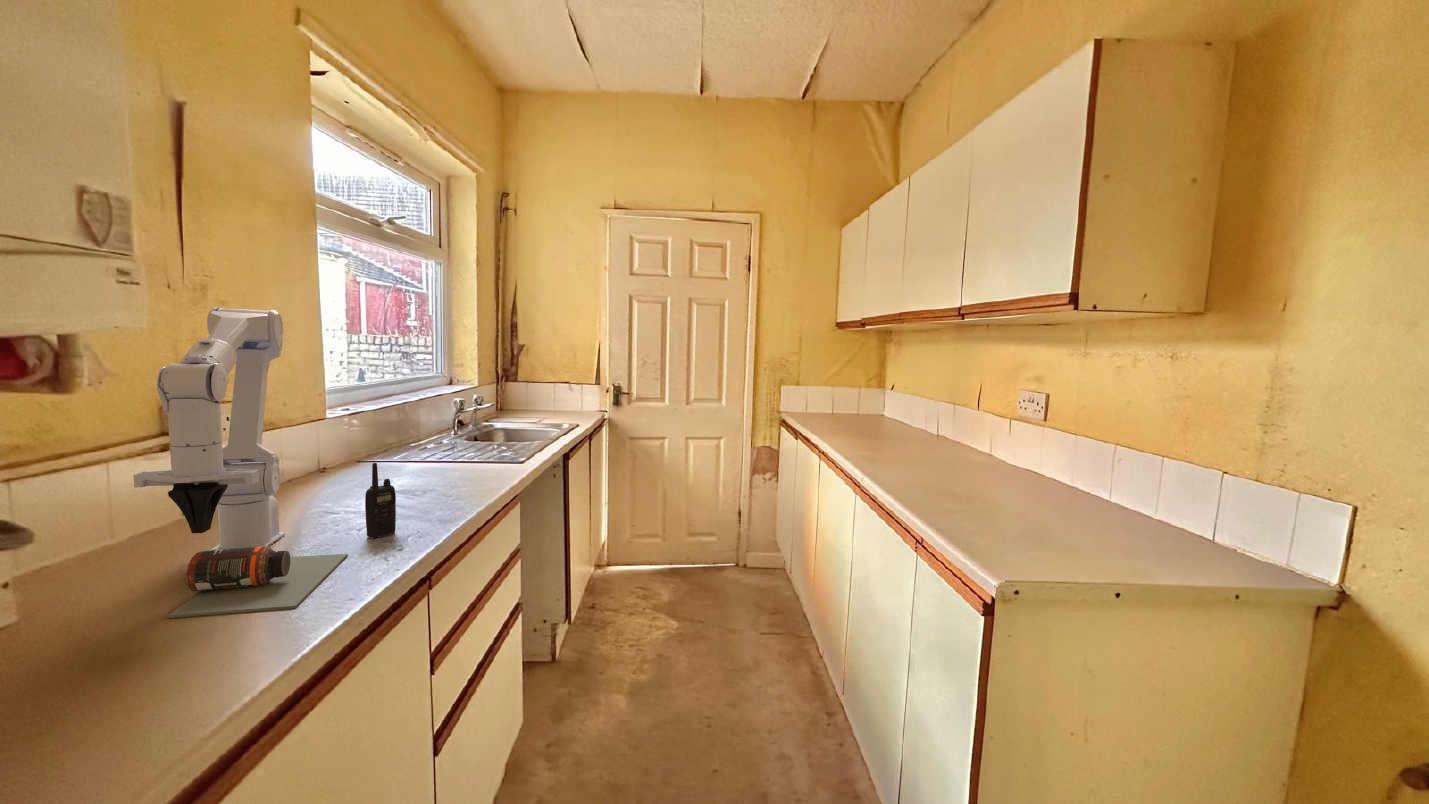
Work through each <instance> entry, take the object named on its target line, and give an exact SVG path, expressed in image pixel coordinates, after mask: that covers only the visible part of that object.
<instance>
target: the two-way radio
mask: <svg viewBox="0 0 1429 804" xmlns="http://www.w3.org/2000/svg"><path fill="white" fill-rule="evenodd" d="M371 464H372V465H371V466H372V467H371V472H372V473H371V486H370V487H369V488H368V489H367V490H366V491H365V497H364V498H365V500H364V505H365V507H364V509H365V510H364V511H365V524H366V525H365V527H366V537H367V538H370V539H377V538H381V537H385V536H389V535H393V534H395V533H396V528H397V527H396V524H397V523H396V522H397V521H396V519H397V513H396V511H397V510H396V509H397V508H396V507H397V505H396V503H397V499H396V498H397V497H396V496H397V495H396V494H397V493H396V489H395V487H394V485H392V484H391V480H390V478H385V479H383V483H382V485H379V474H378V471H379V470H378V463H376V462H372V463H371Z"/></svg>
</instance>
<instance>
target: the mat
mask: <svg viewBox="0 0 1429 804" xmlns="http://www.w3.org/2000/svg"><path fill="white" fill-rule="evenodd" d="M348 554H349V553H341V554H339V553H337V554H336V553H335V554H319V555H318V554H317V555H305V556H304V555H299V556H290V568H289V572H288V574H287V575H286V576H284V577H278V578H276V577H274V578H272V579H270V581H269V582H268V583H266V584H264V585H259V586H250V587H241V588H230V589H221V590H211V591H202V592H201V591H200V592H198V594H196V595H194V596H193V597H192V598H190V599H188V600H187V601H186V602H185V603H183V604H182V605H181V606H179V607H177V608H176V609H174V610H173V611H171V613H169V614H167V619H172V618H173V619H174V618H185V617H188V618H189V617H200V616H213V615H224V614H226V615H227V614H239V613H240V614H241V613H252V612H264V611H265V612H266V611H279V610H291V609H293V610H294V609H296V608H298V606H299V605H301V604H302V603H303V602H304V600H306V598H307V597H309V596H310V594H312V593H313V592H314V591H315V590H316V588H317V587H318V586H319V585H321V584H322V583H323V581H325V580H326V578H327V577H328V576H329V575H330V574H331V573H332V572H334V571H335V569H336V568H338V567H339V565H340V564H341V563H342V562H344V561H345V560H346V559H347V557H348V556H349V555H348Z"/></svg>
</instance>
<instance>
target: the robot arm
mask: <svg viewBox="0 0 1429 804" xmlns="http://www.w3.org/2000/svg"><path fill="white" fill-rule="evenodd" d="M206 318H207V319H206V326H207V328H206V329H207V331H208V334H209V336H208V338H204V337H203V338H200V340H197V341H196V342H194V343H193V345H191V347H190V348H189V349H188V350H187V352H186V353H185V354H184V355H183V356H182V357H181V359H180V360H179V361H178V362H177V363H170V364H168V365H167V366H163V367H161V369H160V370H159V371H158V374H157V381H156V389H157V393H158V396H159V398H160V400H161V403H162V411H163V414H164V415H167V419H168V420H167V421H168V422H167V423H168V437H169V455H170V470H169V469H168V470H157V471H154V470H153V471H152V470H151V471H141V472H138V473H135V474H133V485H134V486H133V488H145V487H165V486H166V487H167V486H168V487H169V486H172V489H171V490H168V492H167V495H168V498H169V499H171V500H172V501H173V502H174V503H175V505H176V506H177V507H178V508H179V510H180V511H181V512H182V514H183V516H184V517H185V520H186V522H187V524H188V527H189V529H190V531H191V534H203V533H206V532H208V531H210V530H211V528H212V523H213V520H214V515H215V513H216V509H217V517H218V521H217V522H218V534H219V535H218V536H219V537H218V539H219V544H218V545H216V546H215V547H213V548H211V549H210V550H222V549H234V548H246V547H259V546H268V547H270V546H271V545H272V544H273V543H276V541H278V540H279V539H280V538H282V537H283V536H285V535H286V532H284V531H280V517H279V516H280V515H279V514H280V511H279V503H278V500H277V499H276V497H274V495H275V494H276V493H277V492H278V491H279V488H280V484H281V469H280V458H279V457H278V454H276V453H275V452H274V451H273V450H270V449H269V448H267V447H265V446H263V444H262V443H263V432H264V422H265V421H264V419H265V409H266V399H267V386H268V375H269V369H270V365H271V361H273V360H275V359H278V358H280V357H281V355H282V354H281V352H282V351H283V342H284V323H283V318H282V316H281V313H280V312H278V311H277V310H275V309H270V310H266V309H265V310H263V309H244V308H227V307H226V308H225V307H221V306H214V307H212V308H211V309H210V310H209V312H208V313H207V317H206ZM234 367H235V369H234V378H233V379H234V380H233V381H234V382H233V387H232V388H233V390H232V399H231V400H232V401H231V409H230V410H231V411H230V419H229V431H228V439H227V444H226V445H225V446H224V447H223V431H222V414H221V412H222V411H221V409H222V408H221V402H223V400H225V398H226V394H227V390H228V389H227V388H228V384H229V380H230V379H229V373H231V371H232V370H233V368H234Z"/></svg>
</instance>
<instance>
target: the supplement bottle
mask: <svg viewBox="0 0 1429 804" xmlns="http://www.w3.org/2000/svg"><path fill="white" fill-rule="evenodd" d="M290 557H291V554H290V551H288V550H276V551H275V550H274V549H273V548H272V547H271V546H259V547H246V548H234V549H222V550H211V549H210V550H201V551H198V552H196V553H195V554H194V555H193V556H192V557H191V559H190V560H189V563H188V565H187V567H186V568H187V570H186V571H187V572H186V583H187V587H188V589H189V590H190V591H192V592H194V593H200V592H202V591H211V590H221V589H230V588H241V587H250V586H259V585H264V584H266V583H268V582H269V581H270V579H272V578H274V577H276V578H278V577H284V576H286V575H287V574H288V572H289V568H290Z"/></svg>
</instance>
